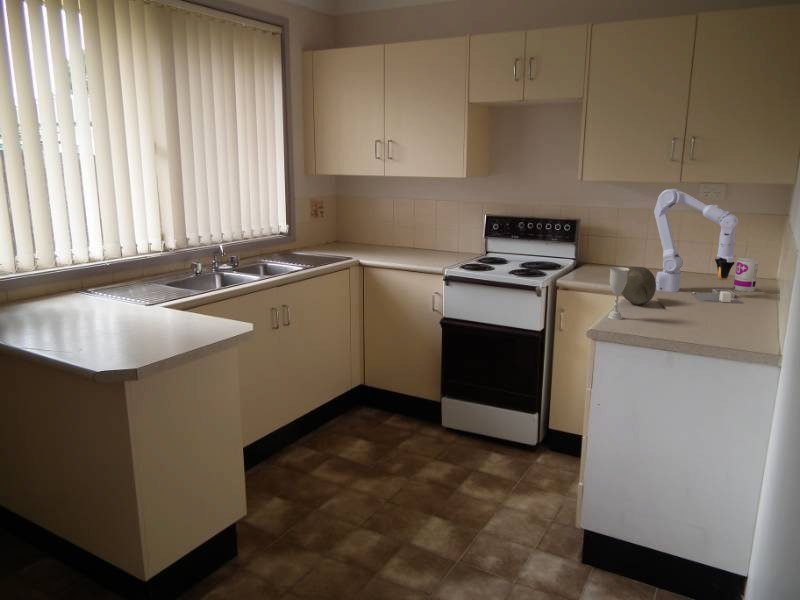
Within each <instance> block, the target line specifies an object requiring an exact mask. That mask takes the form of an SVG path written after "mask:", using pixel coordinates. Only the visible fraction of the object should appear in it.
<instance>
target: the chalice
mask: <svg viewBox="0 0 800 600" xmlns="http://www.w3.org/2000/svg"><path fill="white" fill-rule="evenodd" d="M628 268H629V267H622V266H621V267H620V266H618V267H617V266H612V267H609V268H608V269H609V271H610V273H609V285H610V289H611V291H612V294H614V295H615V298H614V303H613V306H614V308H613V310H612V311H610V312H609V314H608V316H607V318H608V319H609V318H610V320H616V321H617V320H620V321H621V320H623V317H622V313H621V311H619V310H618V307H619V303H618V302H619V295H622V294H621V293H622V291H623V290H624V288H625V286H626V284H627V275H628V271H629V269H628Z"/></svg>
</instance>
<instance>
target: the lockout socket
mask: <svg viewBox="0 0 800 600" xmlns="http://www.w3.org/2000/svg"><path fill="white" fill-rule="evenodd" d="M720 291H726V292H730V293H731V298H734V297H735V292H733V291H732V290H730V289H714V288H713V289H711V294H712V295H714V296H715V297H720Z"/></svg>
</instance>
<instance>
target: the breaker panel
mask: <svg viewBox="0 0 800 600" xmlns="http://www.w3.org/2000/svg"><path fill="white" fill-rule="evenodd" d="M689 293H690V295H692V296H693V297H694V298H695V299H696V300H698V301H699V302H700V303H714V304H735V305H744V303H743V302H742V301H741V300H739V299H737V298H736V297H735V296H734V298H731V301H730V302H722V301H720V300H719V297H715V296H714V295H712V293H706V292H705V293H704V292H702V293H701V292H696V291H692V292H689Z"/></svg>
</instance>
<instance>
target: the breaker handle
mask: <svg viewBox="0 0 800 600" xmlns="http://www.w3.org/2000/svg"><path fill="white" fill-rule="evenodd" d="M719 300H720V301H722V302H730V301H731V293H730V292H726V291H720V297H719Z"/></svg>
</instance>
